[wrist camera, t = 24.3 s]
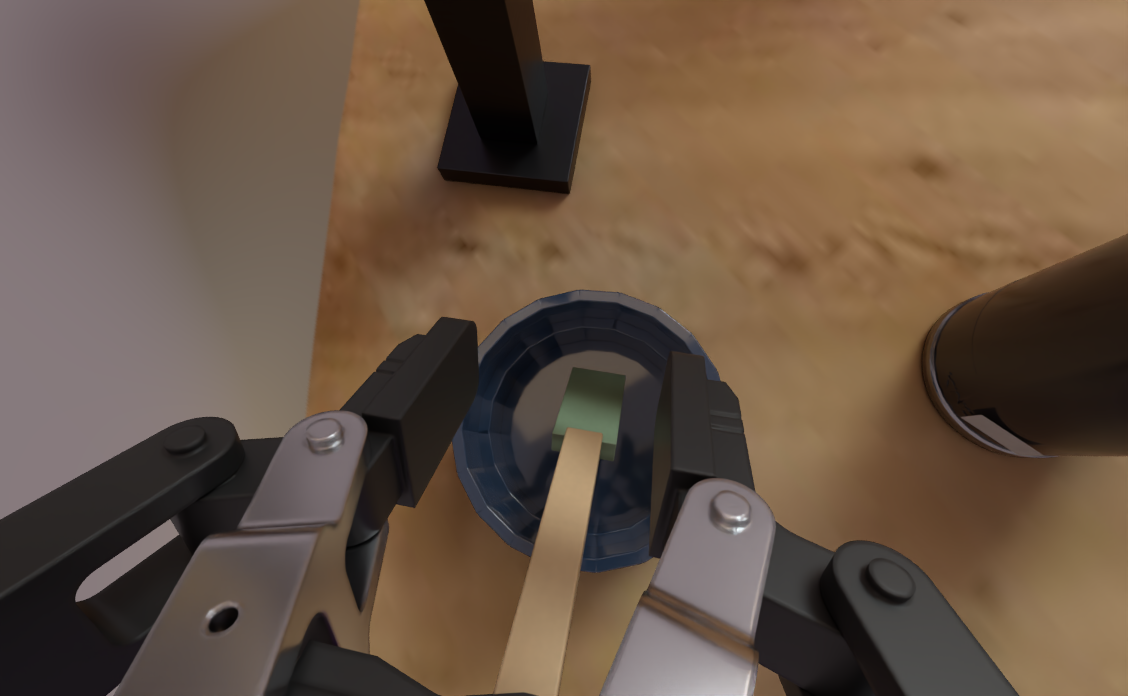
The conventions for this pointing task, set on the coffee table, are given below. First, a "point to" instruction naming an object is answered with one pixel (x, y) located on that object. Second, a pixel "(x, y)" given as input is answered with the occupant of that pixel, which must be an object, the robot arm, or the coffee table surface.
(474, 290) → the coffee table surface
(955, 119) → the coffee table surface
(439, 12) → the headphone stand
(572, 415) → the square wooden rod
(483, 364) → the bowl
